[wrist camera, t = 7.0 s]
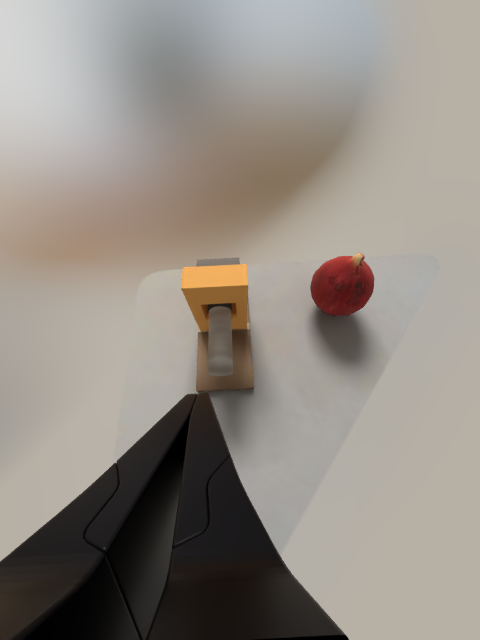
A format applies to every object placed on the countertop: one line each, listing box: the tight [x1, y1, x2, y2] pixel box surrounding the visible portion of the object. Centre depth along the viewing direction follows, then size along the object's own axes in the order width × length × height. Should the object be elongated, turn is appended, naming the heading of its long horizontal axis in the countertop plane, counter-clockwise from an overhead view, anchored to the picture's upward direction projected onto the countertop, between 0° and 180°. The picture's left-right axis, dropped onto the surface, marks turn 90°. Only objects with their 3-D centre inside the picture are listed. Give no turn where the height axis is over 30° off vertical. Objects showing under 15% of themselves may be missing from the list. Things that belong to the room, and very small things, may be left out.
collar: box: [181, 264, 248, 331], centre depth 21 cm, size 2×5×8 cm, turn 93°
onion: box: [310, 253, 374, 316], centre depth 22 cm, size 6×6×8 cm
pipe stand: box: [196, 258, 254, 391], centre depth 21 cm, size 11×6×6 cm, turn 3°
